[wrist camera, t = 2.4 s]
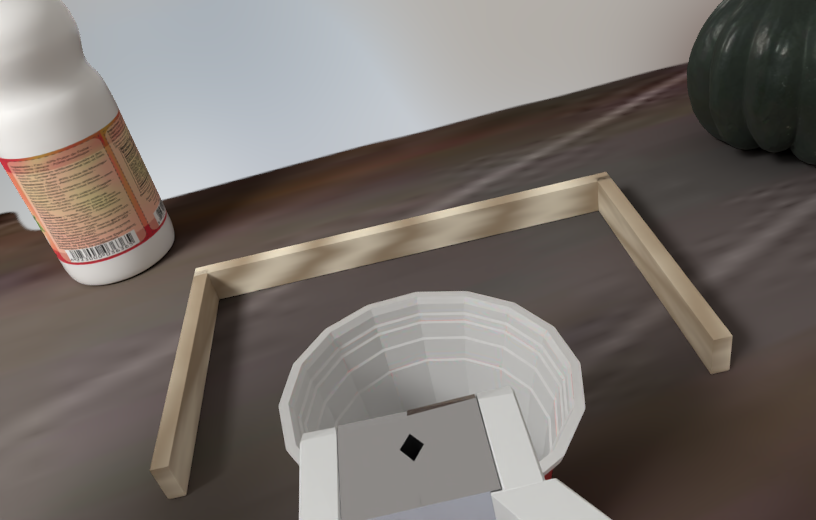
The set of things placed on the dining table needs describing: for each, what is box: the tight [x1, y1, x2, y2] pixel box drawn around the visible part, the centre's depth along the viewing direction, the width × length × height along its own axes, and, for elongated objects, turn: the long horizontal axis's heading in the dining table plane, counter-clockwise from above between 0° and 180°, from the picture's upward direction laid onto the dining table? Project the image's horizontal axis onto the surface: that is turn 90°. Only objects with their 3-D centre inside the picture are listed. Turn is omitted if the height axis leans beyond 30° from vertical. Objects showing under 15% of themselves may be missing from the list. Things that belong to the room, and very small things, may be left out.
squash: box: [687, 0, 816, 165], centre depth 51 cm, size 14×15×15 cm
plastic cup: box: [279, 291, 585, 480], centre depth 28 cm, size 11×11×12 cm
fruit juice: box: [0, 0, 175, 285], centre depth 53 cm, size 9×9×28 cm
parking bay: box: [150, 172, 733, 499], centre depth 44 cm, size 31×18×2 cm, turn 97°
